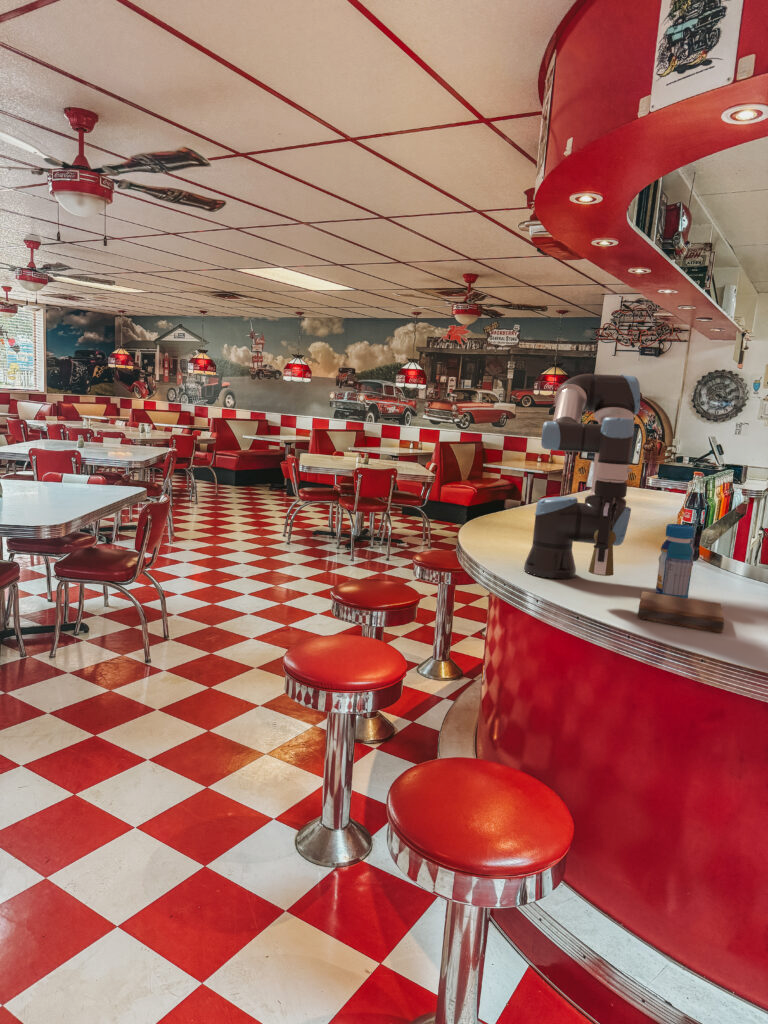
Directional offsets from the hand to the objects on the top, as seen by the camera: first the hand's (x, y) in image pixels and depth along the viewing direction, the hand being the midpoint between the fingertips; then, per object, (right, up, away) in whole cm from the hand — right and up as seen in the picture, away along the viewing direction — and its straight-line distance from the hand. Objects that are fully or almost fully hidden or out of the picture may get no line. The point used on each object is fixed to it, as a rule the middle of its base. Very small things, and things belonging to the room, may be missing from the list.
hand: (601, 571), depth 163 cm
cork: (0, -1, 0) cm, 1 cm away
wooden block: (+17, -11, -7) cm, 21 cm away
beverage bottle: (+23, -9, +11) cm, 27 cm away
